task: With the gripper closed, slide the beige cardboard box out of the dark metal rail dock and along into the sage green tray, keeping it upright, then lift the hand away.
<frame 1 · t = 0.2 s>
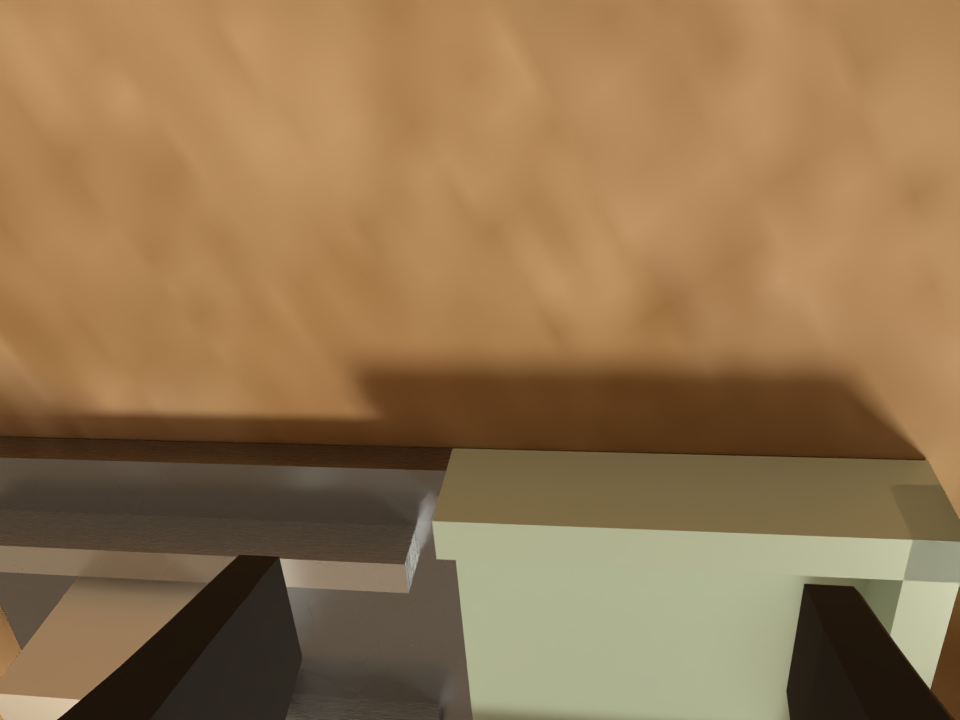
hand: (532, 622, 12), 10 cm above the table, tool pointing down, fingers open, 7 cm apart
dock: (235, 597, 27), on the table
tray: (670, 621, 25), on the table
beige cardboard box: (192, 619, 26), point 1 cm above the table, touching dock
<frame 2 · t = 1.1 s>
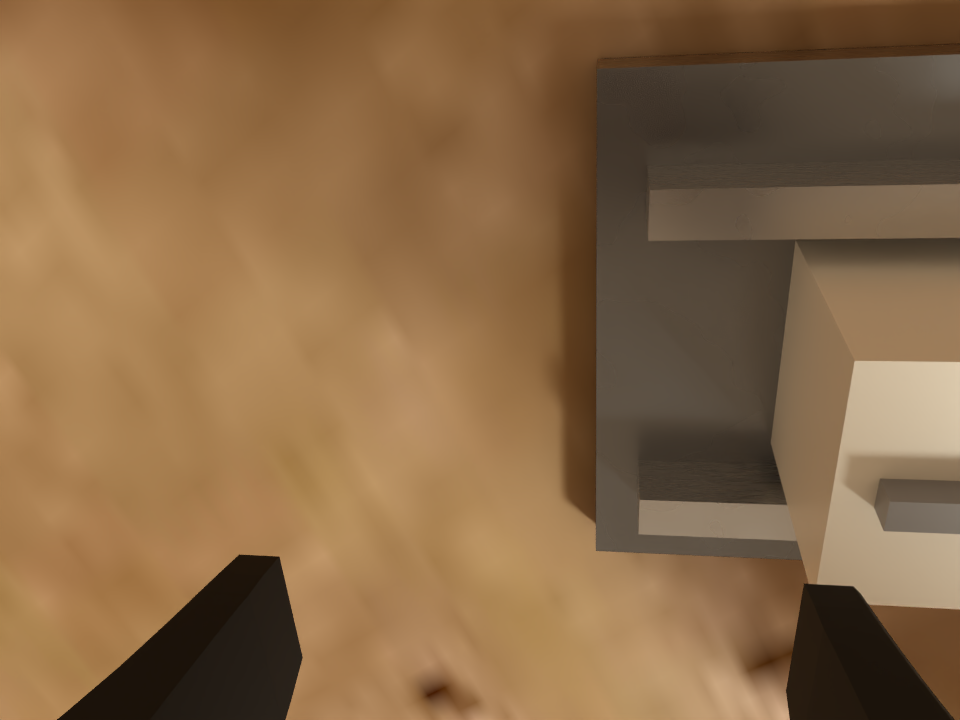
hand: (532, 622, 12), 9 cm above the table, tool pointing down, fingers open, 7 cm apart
dock: (939, 328, 19), on the table
beige cardboard box: (904, 349, 18), point 1 cm above the table, touching dock
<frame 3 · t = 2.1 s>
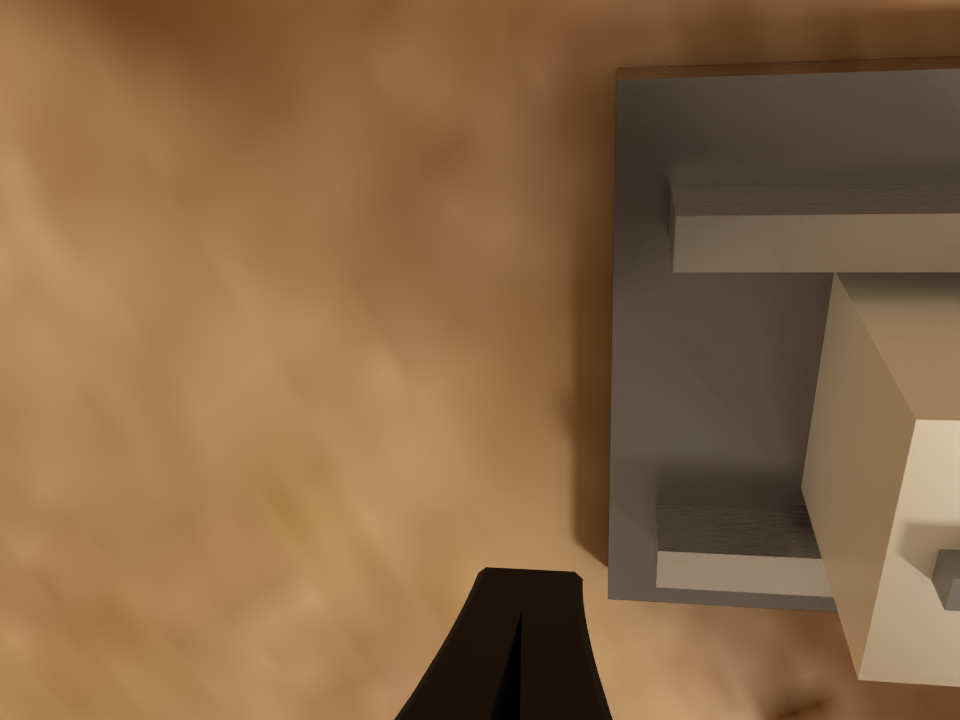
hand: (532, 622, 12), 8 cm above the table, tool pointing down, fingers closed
beige cardboard box: (952, 389, 16), point 1 cm above the table, touching dock
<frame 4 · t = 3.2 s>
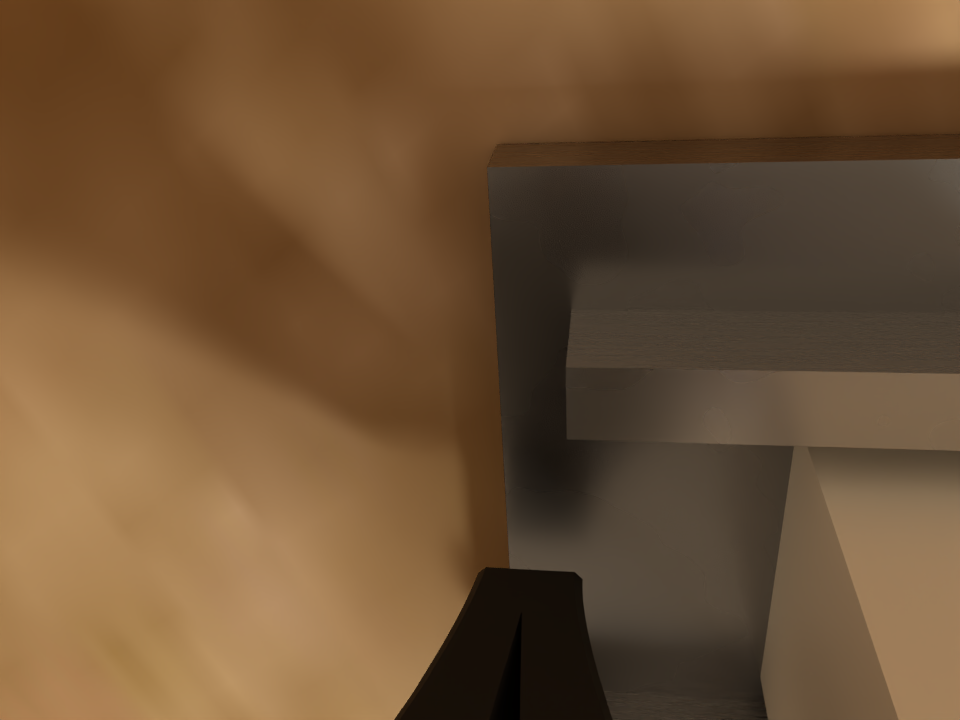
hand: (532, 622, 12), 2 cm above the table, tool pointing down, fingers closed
beige cardboard box: (958, 569, 12), point 1 cm above the table, touching dock
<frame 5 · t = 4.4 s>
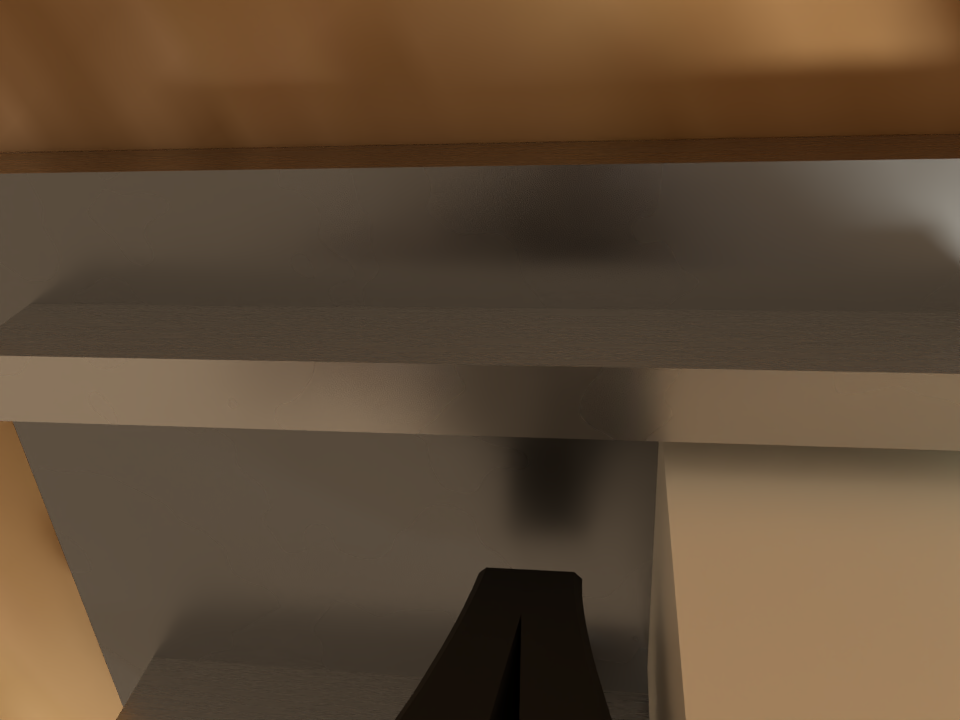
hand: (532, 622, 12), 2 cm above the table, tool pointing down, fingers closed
dock: (502, 504, 14), on the table
beige cardboard box: (827, 560, 12), point 1 cm above the table
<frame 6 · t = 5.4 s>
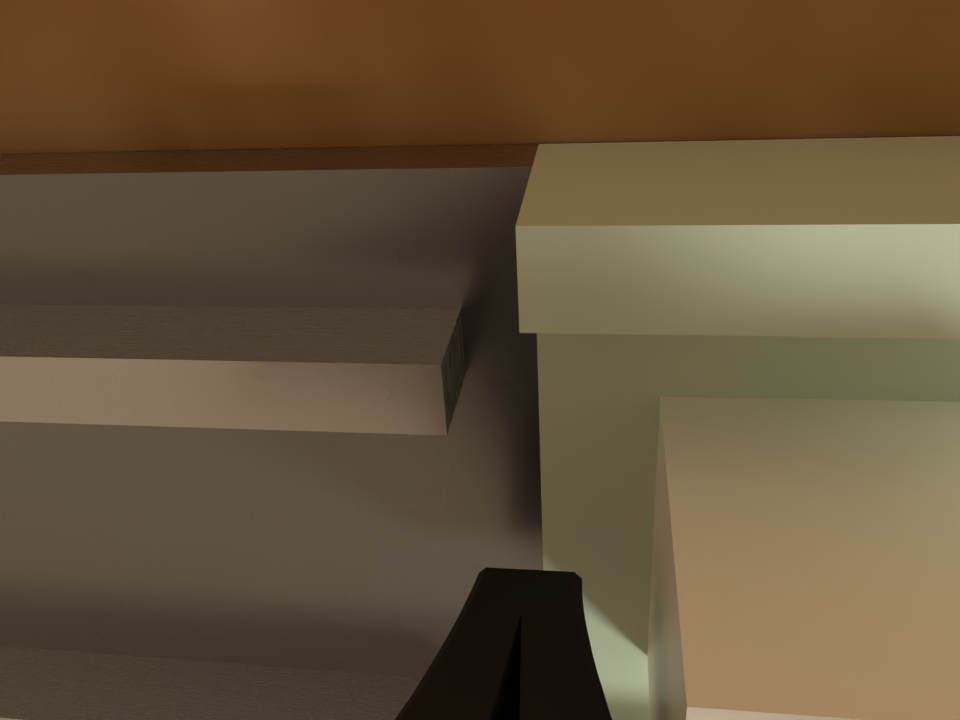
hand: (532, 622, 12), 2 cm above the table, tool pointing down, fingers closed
dock: (123, 489, 15), on the table
tray: (937, 524, 13), on the table
beige cardboard box: (828, 546, 12), point 1 cm above the table, touching gripper, tray
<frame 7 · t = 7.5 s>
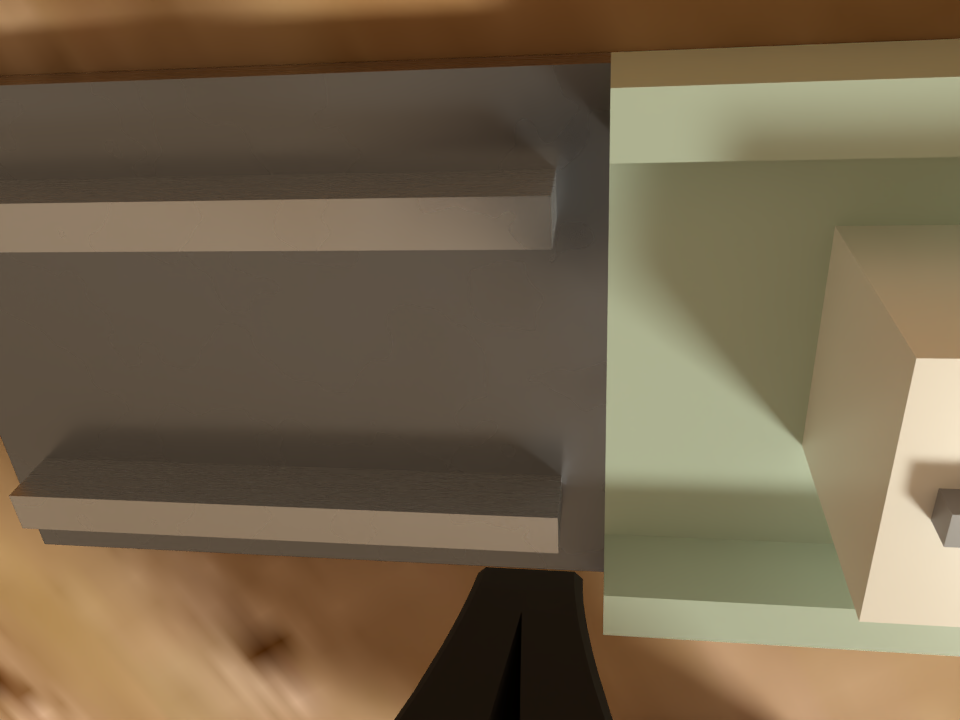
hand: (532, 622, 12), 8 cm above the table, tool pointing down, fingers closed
dock: (282, 333, 20), on the table
tray: (895, 339, 18), on the table
beige cardboard box: (950, 344, 17), point 1 cm above the table, touching tray
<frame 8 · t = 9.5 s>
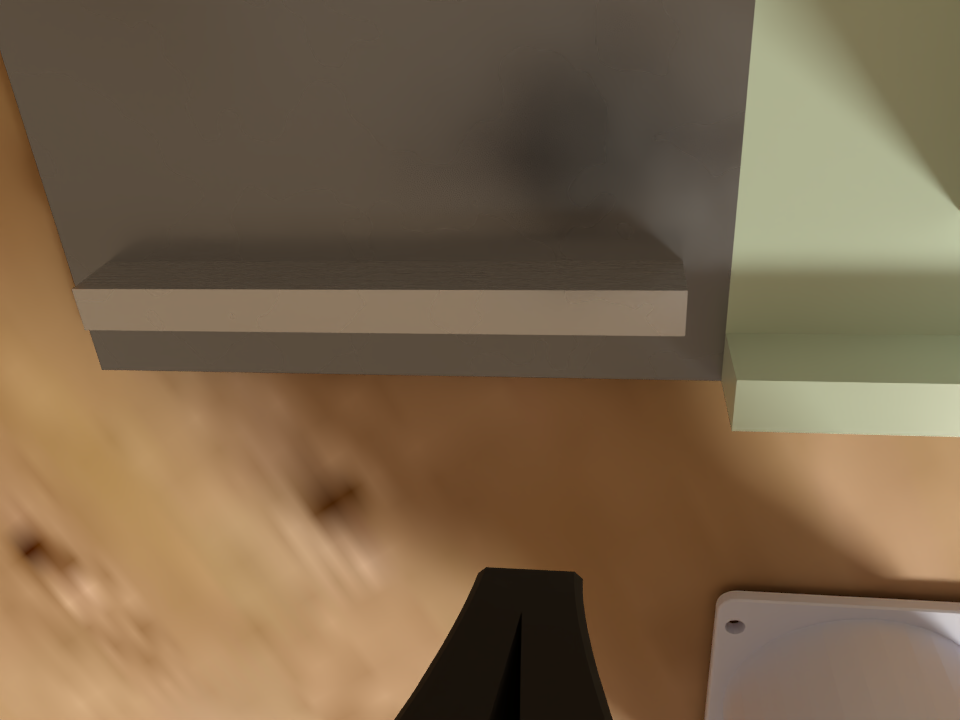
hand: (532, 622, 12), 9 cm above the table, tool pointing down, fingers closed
dock: (374, 107, 18), on the table
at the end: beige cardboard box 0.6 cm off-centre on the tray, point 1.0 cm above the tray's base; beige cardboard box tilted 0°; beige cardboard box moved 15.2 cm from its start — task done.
